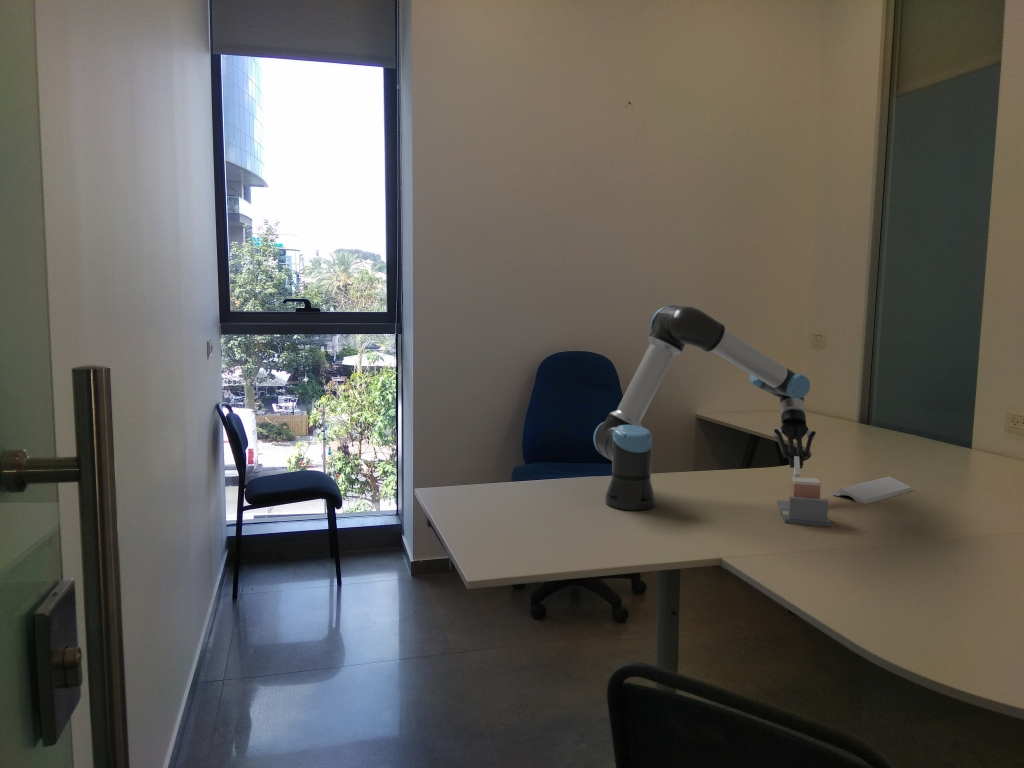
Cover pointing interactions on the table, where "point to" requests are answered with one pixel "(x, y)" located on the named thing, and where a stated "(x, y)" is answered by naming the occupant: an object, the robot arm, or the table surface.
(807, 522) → the base
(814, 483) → the orange box with lid
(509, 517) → the table surface
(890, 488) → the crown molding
